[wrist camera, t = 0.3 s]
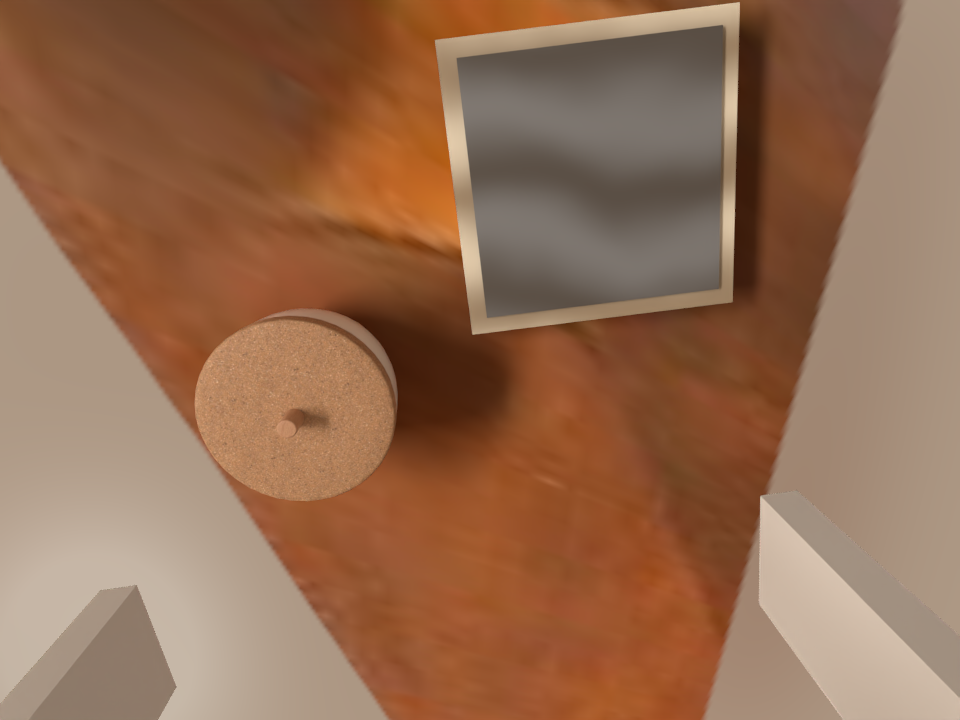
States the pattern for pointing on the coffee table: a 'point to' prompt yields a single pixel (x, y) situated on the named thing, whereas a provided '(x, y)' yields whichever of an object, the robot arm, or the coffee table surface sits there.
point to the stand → (594, 165)
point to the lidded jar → (298, 404)
